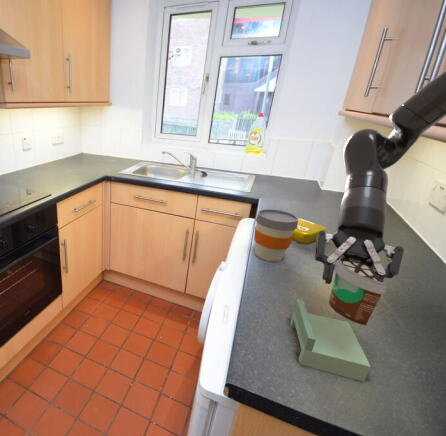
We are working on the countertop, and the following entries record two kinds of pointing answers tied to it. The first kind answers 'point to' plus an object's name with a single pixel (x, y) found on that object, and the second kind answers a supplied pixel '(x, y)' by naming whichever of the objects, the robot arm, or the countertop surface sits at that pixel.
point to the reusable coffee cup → (274, 233)
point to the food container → (355, 290)
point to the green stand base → (329, 344)
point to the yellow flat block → (307, 231)
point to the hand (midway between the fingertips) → (350, 288)
